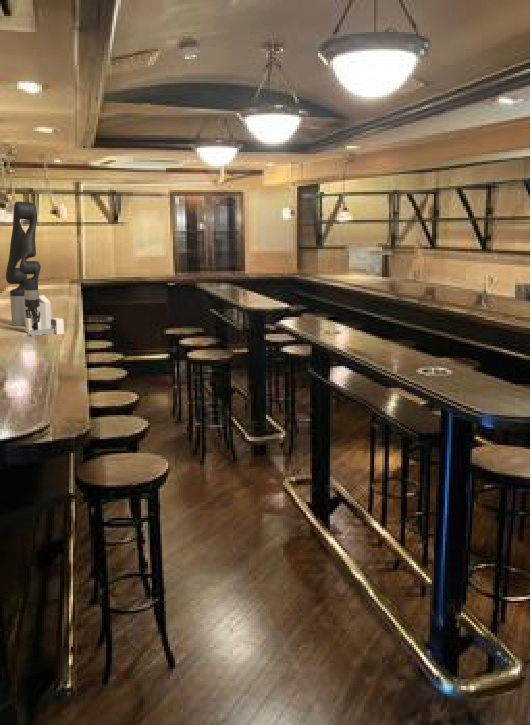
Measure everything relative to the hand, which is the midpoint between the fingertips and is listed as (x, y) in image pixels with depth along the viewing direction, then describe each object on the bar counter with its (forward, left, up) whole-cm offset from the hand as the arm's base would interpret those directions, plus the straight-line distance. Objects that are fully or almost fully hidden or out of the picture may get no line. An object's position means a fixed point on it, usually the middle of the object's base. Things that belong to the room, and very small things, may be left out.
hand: (33, 329), depth 340 cm
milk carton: (-10, +10, -2) cm, 14 cm away
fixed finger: (+10, +9, -2) cm, 14 cm away
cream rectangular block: (0, 0, -2) cm, 2 cm away
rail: (+10, +2, -2) cm, 11 cm away
